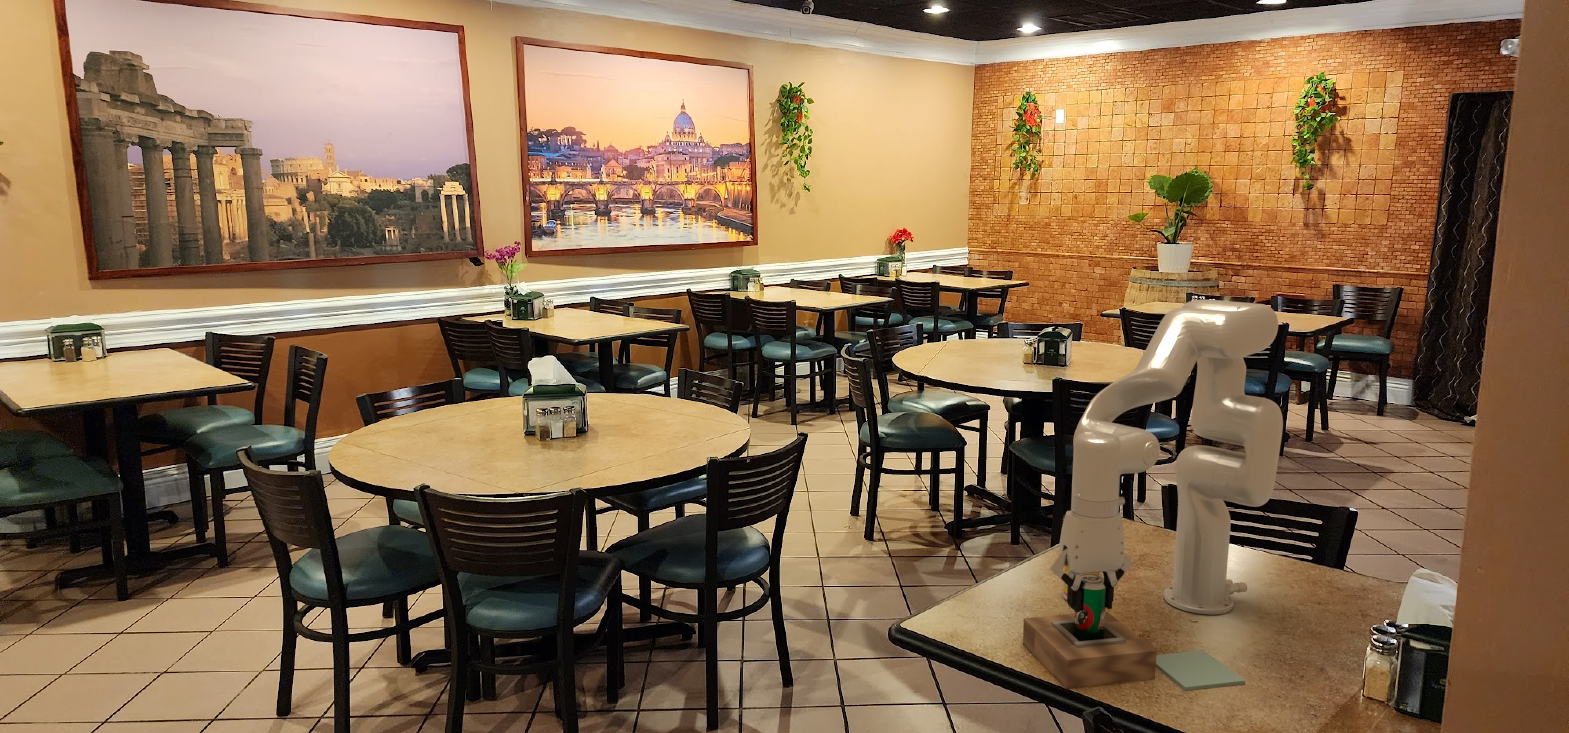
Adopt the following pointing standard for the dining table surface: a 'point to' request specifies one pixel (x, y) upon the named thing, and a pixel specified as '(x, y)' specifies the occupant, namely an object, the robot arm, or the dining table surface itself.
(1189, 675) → the mat
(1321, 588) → the dining table surface
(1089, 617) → the soda can
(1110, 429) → the robot arm
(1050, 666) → the housing
